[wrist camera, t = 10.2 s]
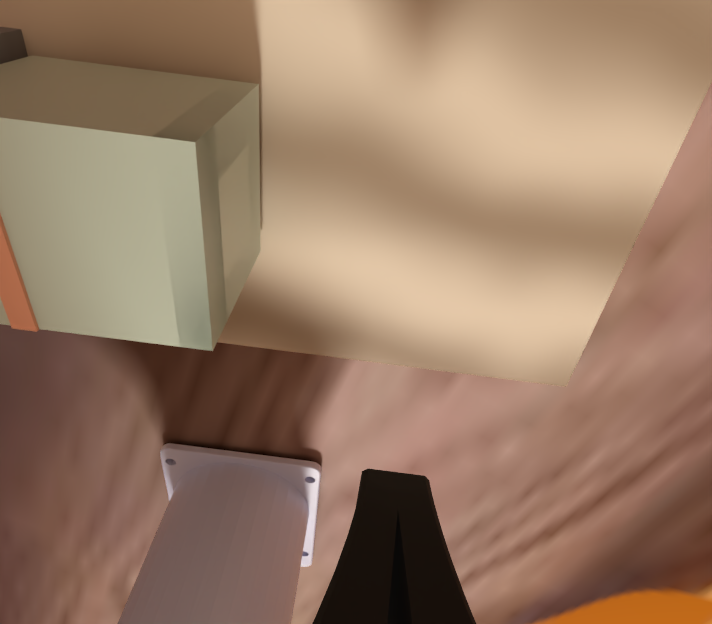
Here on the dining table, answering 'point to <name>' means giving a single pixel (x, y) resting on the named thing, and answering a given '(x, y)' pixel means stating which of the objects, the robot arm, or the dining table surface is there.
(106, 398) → the dining table surface
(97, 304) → the pale green cube
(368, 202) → the stud board
